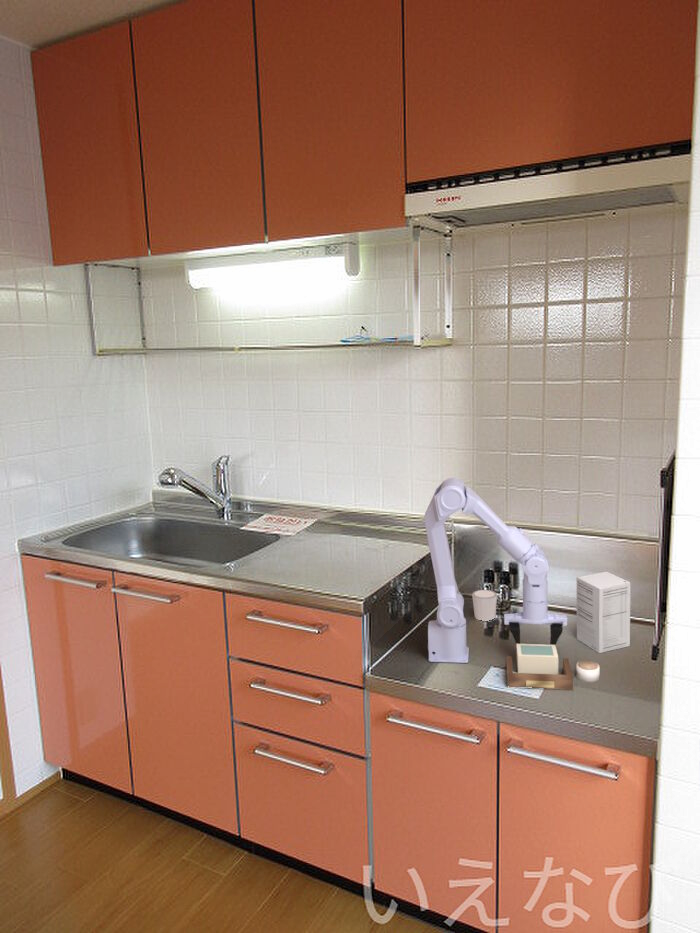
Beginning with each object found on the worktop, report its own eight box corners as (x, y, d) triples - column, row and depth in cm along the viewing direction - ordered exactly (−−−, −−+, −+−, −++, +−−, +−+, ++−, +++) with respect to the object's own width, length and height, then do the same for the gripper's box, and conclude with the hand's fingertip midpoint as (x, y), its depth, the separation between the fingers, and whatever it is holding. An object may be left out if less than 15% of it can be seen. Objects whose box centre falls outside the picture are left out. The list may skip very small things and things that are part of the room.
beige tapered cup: (482, 610, 197) (482, 587, 196) (502, 616, 192) (502, 593, 191) (467, 618, 193) (466, 594, 192) (487, 624, 188) (487, 600, 187)
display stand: (507, 688, 154) (507, 675, 154) (506, 668, 163) (506, 656, 163) (573, 690, 152) (573, 678, 151) (568, 670, 161) (568, 658, 160)
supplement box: (606, 632, 179) (607, 570, 176) (631, 646, 171) (632, 581, 167) (575, 639, 176) (575, 576, 173) (598, 654, 168) (599, 588, 165)
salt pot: (577, 682, 155) (577, 669, 155) (575, 671, 160) (575, 659, 160) (601, 682, 154) (601, 670, 154) (597, 672, 159) (597, 659, 159)
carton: (518, 674, 160) (517, 656, 159) (516, 661, 167) (516, 643, 166) (558, 675, 159) (558, 657, 158) (555, 662, 165) (555, 644, 164)
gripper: (564, 593, 167) (564, 645, 170) (503, 592, 170) (504, 643, 172) (568, 604, 160) (568, 658, 163) (504, 603, 163) (505, 656, 166)
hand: (535, 651), depth 167 cm, fingers open, 7 cm apart
